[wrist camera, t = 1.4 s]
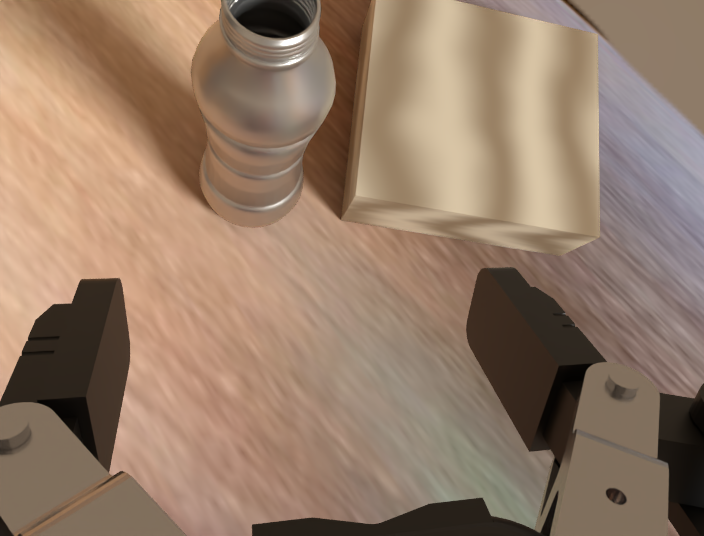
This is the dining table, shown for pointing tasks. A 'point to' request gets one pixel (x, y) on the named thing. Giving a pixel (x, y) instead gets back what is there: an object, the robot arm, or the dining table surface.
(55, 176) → the dining table surface
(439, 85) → the oak pedestal
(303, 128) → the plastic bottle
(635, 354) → the dining table surface
